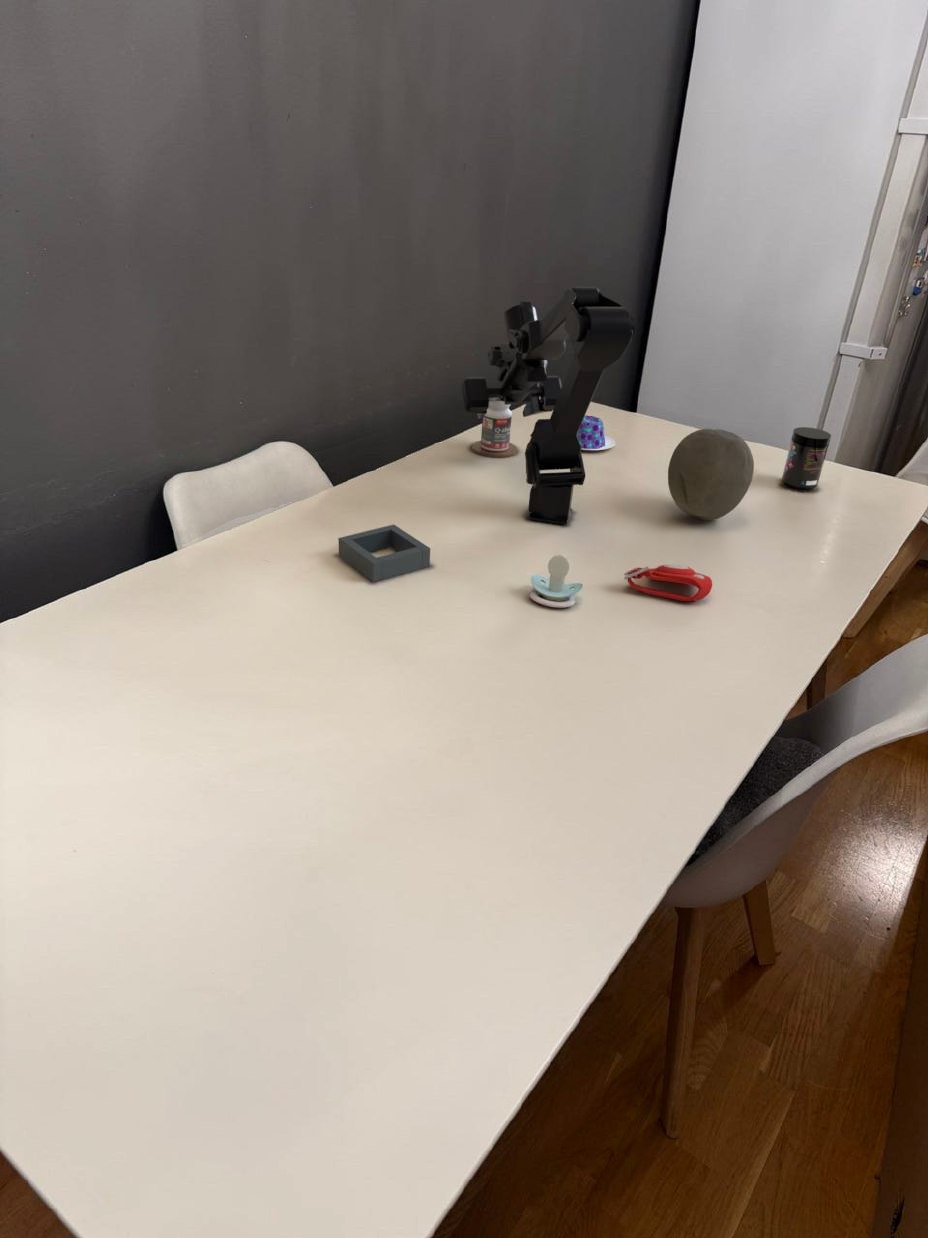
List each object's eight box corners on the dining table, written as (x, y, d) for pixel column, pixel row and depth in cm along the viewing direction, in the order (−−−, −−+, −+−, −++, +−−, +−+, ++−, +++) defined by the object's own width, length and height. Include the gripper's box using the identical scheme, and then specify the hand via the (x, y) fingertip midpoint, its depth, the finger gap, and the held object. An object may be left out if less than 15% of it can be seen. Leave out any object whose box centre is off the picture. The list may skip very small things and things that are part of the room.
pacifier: (573, 615, 121) (583, 594, 126) (578, 575, 117) (588, 555, 122) (522, 603, 123) (534, 584, 128) (525, 563, 119) (538, 545, 124)
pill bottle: (496, 454, 173) (500, 404, 168) (474, 446, 176) (477, 397, 171) (514, 447, 177) (519, 398, 172) (492, 440, 180) (496, 392, 175)
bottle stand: (393, 541, 137) (393, 524, 136) (429, 566, 131) (430, 548, 129) (338, 556, 132) (338, 537, 130) (373, 582, 125) (373, 563, 124)
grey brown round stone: (752, 534, 148) (773, 448, 140) (668, 529, 147) (684, 443, 140) (731, 501, 160) (749, 420, 152) (653, 497, 159) (668, 416, 152)
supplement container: (798, 477, 173) (811, 425, 168) (824, 489, 168) (839, 436, 162) (772, 481, 170) (785, 428, 165) (798, 494, 165) (812, 440, 160)
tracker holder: (670, 560, 134) (726, 570, 127) (666, 589, 135) (722, 600, 128) (617, 561, 127) (674, 572, 119) (614, 592, 127) (670, 604, 120)
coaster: (520, 445, 180) (520, 443, 180) (512, 459, 172) (512, 457, 172) (477, 439, 182) (478, 437, 181) (467, 453, 174) (467, 451, 174)
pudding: (554, 449, 179) (557, 424, 176) (558, 431, 189) (561, 407, 186) (614, 456, 177) (617, 431, 175) (615, 437, 188) (618, 413, 185)
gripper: (565, 332, 161) (539, 377, 175) (466, 332, 156) (448, 378, 170) (576, 387, 158) (549, 428, 173) (476, 389, 153) (457, 431, 168)
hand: (501, 415), depth 171 cm, fingers open, 9 cm apart
